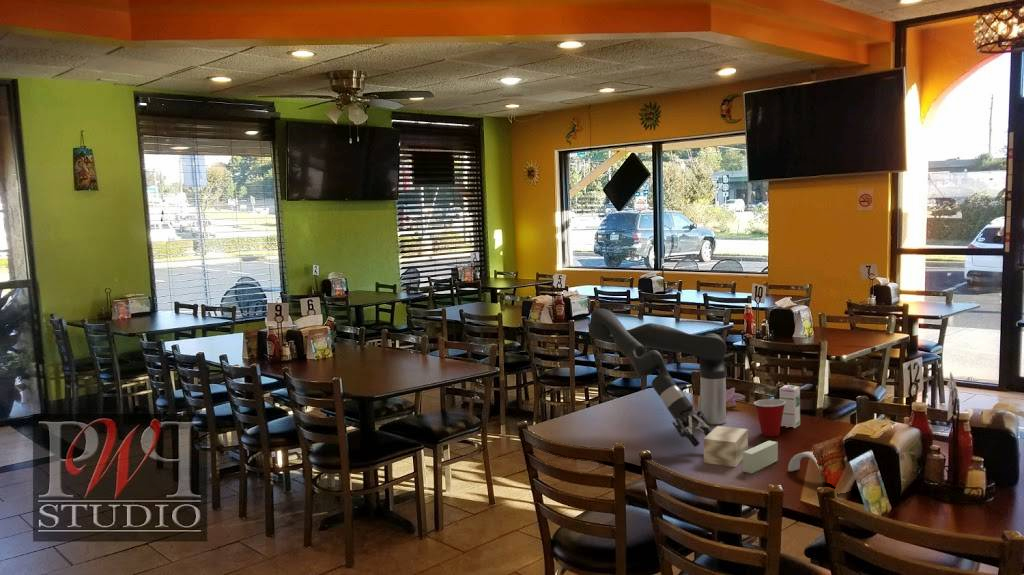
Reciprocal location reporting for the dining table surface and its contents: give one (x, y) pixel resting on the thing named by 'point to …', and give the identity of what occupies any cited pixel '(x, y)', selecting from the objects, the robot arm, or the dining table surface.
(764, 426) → the plastic cup
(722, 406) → the robot arm
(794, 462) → the white arch
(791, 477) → the dining table surface
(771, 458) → the sage board
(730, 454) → the birch block
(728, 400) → the lily
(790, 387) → the syrup box
